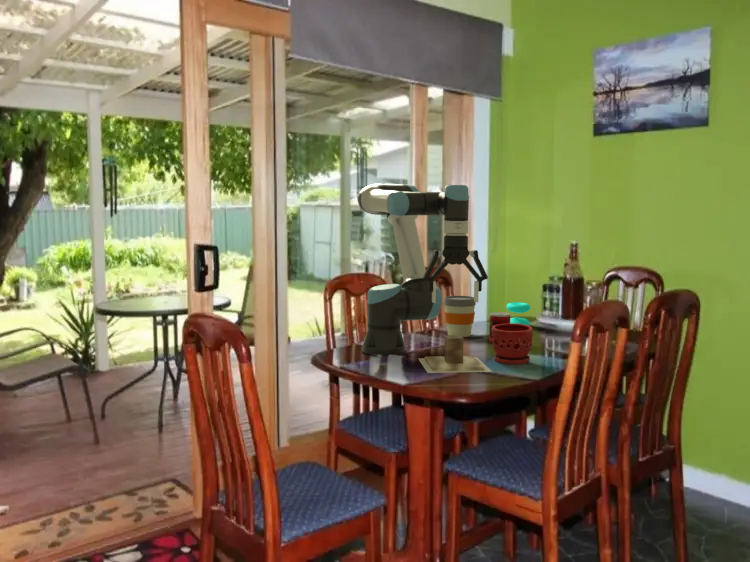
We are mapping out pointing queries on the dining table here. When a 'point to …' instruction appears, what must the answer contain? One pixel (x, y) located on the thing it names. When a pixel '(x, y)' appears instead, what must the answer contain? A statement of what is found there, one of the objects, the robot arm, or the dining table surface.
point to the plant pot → (512, 343)
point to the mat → (451, 371)
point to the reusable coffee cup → (459, 315)
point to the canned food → (497, 321)
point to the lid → (454, 357)
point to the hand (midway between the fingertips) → (454, 302)
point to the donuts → (518, 308)
